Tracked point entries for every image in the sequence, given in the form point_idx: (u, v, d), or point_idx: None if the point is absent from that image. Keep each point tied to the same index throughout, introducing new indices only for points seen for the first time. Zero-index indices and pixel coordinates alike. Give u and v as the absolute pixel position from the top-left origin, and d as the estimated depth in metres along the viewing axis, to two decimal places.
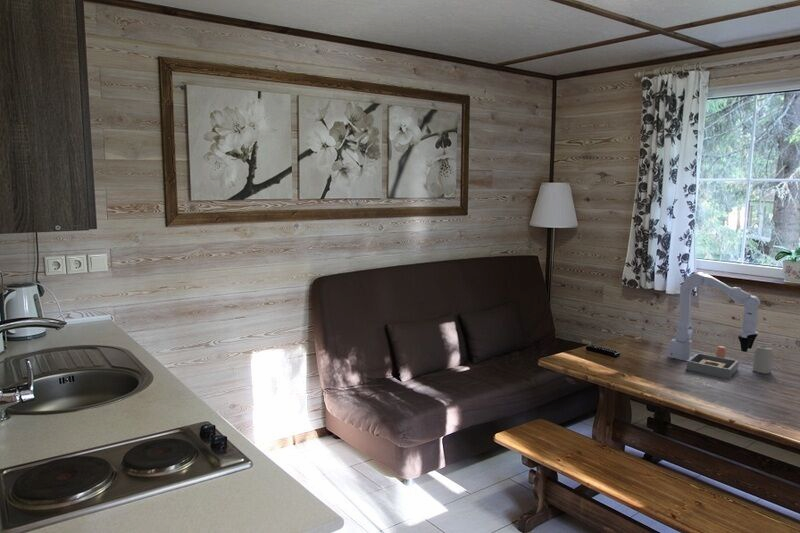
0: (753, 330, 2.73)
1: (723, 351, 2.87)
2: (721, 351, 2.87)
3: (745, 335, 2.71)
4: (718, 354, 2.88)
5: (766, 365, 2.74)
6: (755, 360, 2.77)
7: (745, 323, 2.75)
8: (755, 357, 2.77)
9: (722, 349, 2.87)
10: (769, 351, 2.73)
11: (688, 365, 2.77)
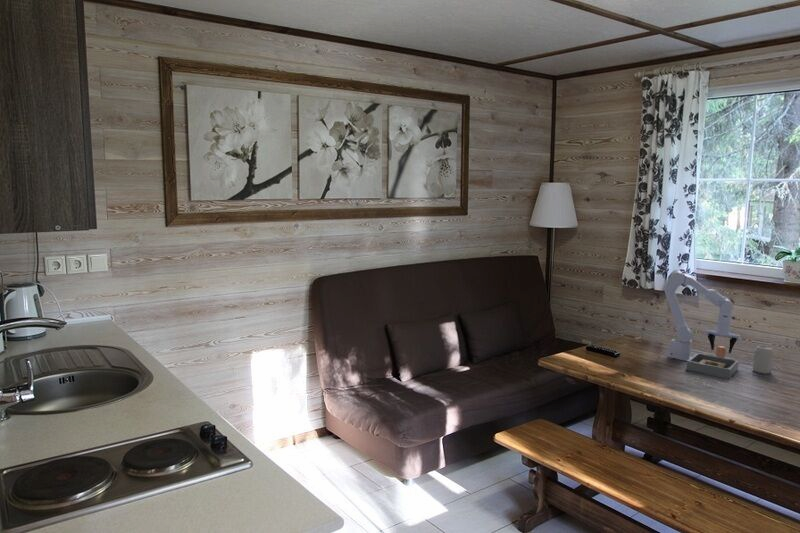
0: (718, 331, 2.87)
1: (723, 351, 2.87)
2: (721, 351, 2.87)
3: (706, 331, 2.92)
4: (718, 354, 2.88)
5: (766, 365, 2.74)
6: (755, 360, 2.77)
7: None
8: (755, 357, 2.77)
9: (722, 349, 2.87)
10: (769, 351, 2.73)
11: (688, 365, 2.77)
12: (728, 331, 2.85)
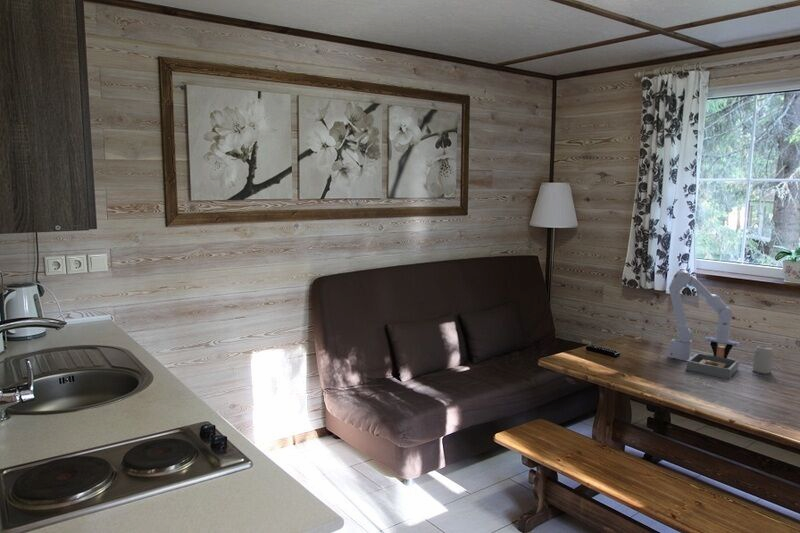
0: (717, 338, 2.87)
1: (723, 351, 2.87)
2: (721, 351, 2.87)
3: (705, 338, 2.93)
4: (718, 354, 2.88)
5: (766, 365, 2.74)
6: (755, 360, 2.77)
7: None
8: (755, 357, 2.77)
9: (722, 349, 2.87)
10: (769, 351, 2.73)
11: (688, 365, 2.77)
12: (727, 338, 2.86)
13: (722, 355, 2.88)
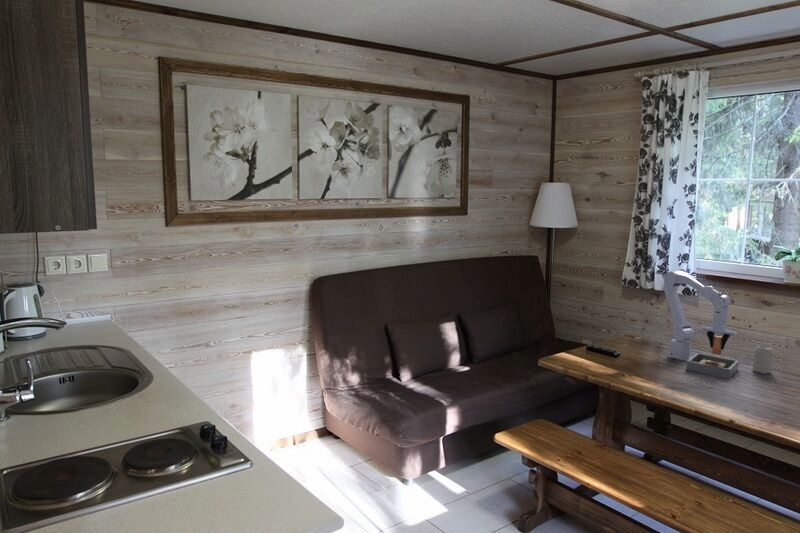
0: (714, 327, 2.79)
1: (720, 341, 2.79)
2: (718, 340, 2.79)
3: None
4: (715, 344, 2.80)
5: (766, 365, 2.74)
6: (755, 360, 2.77)
7: None
8: (755, 357, 2.77)
9: (719, 339, 2.79)
10: (769, 351, 2.73)
11: (688, 365, 2.77)
12: (724, 328, 2.77)
13: (719, 345, 2.79)
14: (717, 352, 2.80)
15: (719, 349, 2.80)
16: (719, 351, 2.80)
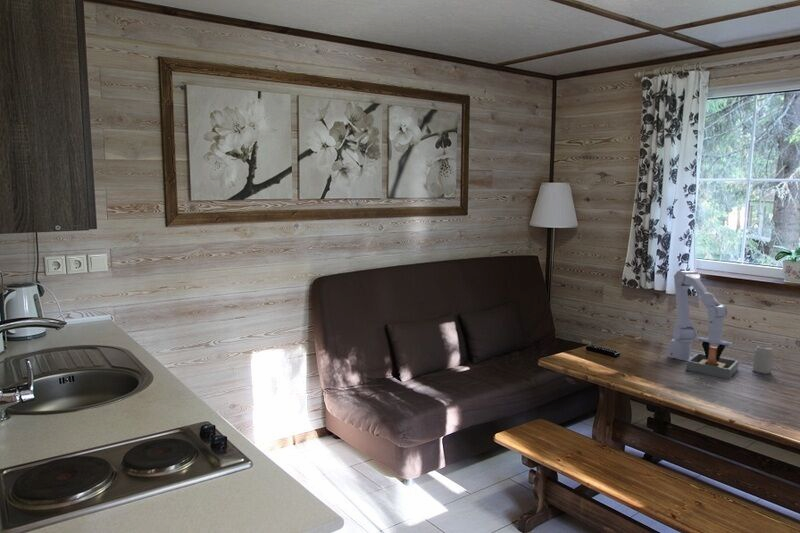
0: (709, 338, 2.74)
1: (715, 352, 2.74)
2: (714, 351, 2.74)
3: None
4: (710, 355, 2.75)
5: (766, 365, 2.74)
6: (755, 360, 2.77)
7: None
8: (755, 357, 2.77)
9: (714, 349, 2.74)
10: (769, 351, 2.73)
11: (688, 365, 2.77)
12: (720, 338, 2.72)
13: (714, 356, 2.74)
14: (712, 363, 2.75)
15: (714, 360, 2.75)
16: (714, 362, 2.75)
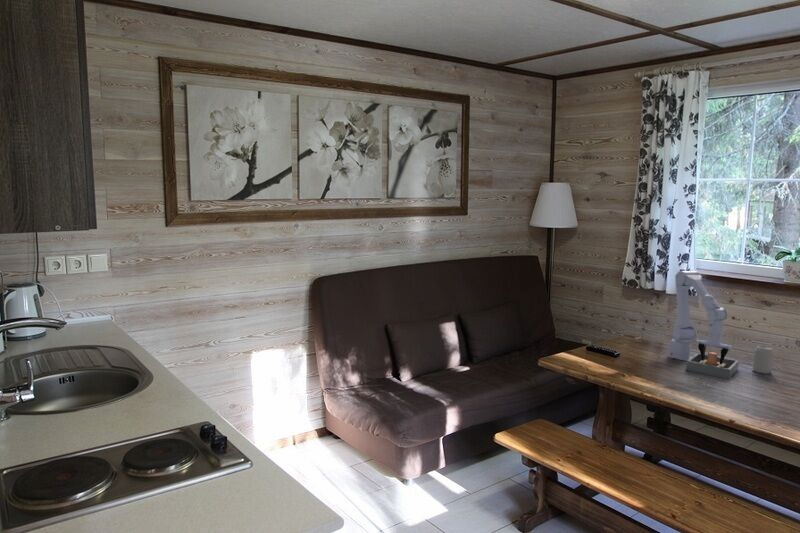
0: (709, 341, 2.74)
1: (714, 358, 2.74)
2: (713, 357, 2.74)
3: (696, 341, 2.79)
4: (709, 361, 2.75)
5: (766, 365, 2.74)
6: (755, 360, 2.77)
7: None
8: (755, 357, 2.77)
9: (713, 356, 2.74)
10: (769, 351, 2.73)
11: (688, 365, 2.77)
12: (719, 341, 2.72)
13: (713, 362, 2.75)
14: None
15: None
16: None
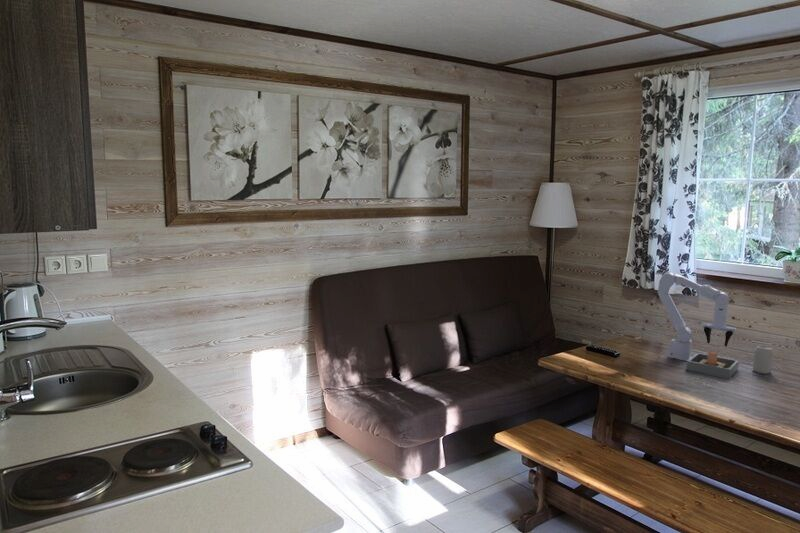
0: (714, 324, 2.86)
1: (714, 358, 2.74)
2: (713, 357, 2.74)
3: None
4: (709, 361, 2.76)
5: (766, 365, 2.74)
6: (755, 360, 2.77)
7: None
8: (755, 357, 2.77)
9: (713, 355, 2.74)
10: (769, 351, 2.73)
11: (688, 365, 2.77)
12: (724, 324, 2.84)
13: (713, 362, 2.75)
14: None
15: None
16: None
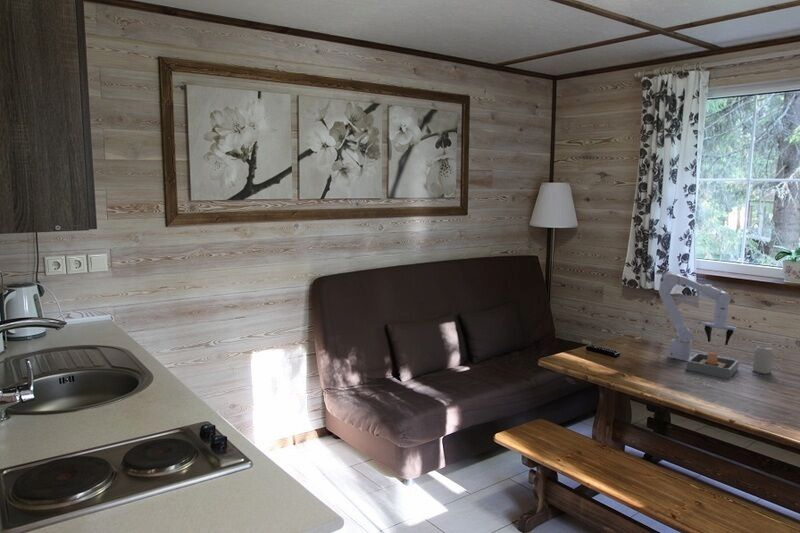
0: (715, 323, 2.88)
1: (715, 358, 2.74)
2: (713, 357, 2.74)
3: (703, 323, 2.94)
4: (709, 361, 2.76)
5: (766, 365, 2.74)
6: (755, 360, 2.77)
7: None
8: (755, 357, 2.77)
9: (714, 355, 2.74)
10: (769, 351, 2.73)
11: (688, 365, 2.77)
12: (725, 323, 2.87)
13: (713, 362, 2.75)
14: None
15: None
16: None
